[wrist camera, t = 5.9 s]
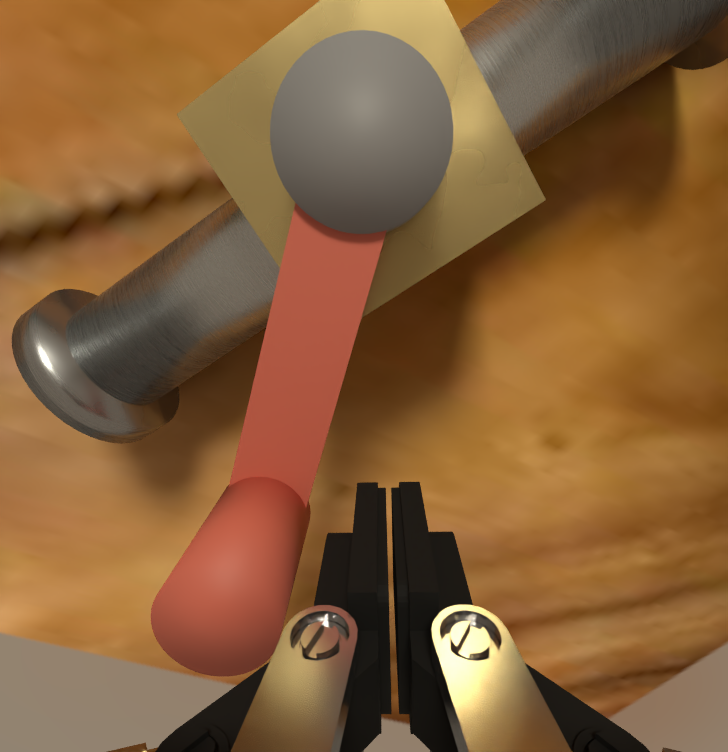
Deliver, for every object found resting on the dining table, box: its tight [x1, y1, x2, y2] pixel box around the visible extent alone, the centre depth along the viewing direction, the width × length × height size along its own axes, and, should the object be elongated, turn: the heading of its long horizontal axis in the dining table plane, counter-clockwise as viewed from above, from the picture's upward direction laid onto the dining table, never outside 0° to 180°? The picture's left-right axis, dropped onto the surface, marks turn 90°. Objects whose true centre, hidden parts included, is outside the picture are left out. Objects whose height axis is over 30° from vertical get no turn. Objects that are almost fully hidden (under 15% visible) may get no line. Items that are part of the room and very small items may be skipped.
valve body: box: [12, 0, 728, 443], centre depth 15 cm, size 26×7×8 cm, turn 123°
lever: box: [151, 30, 453, 676], centre depth 10 cm, size 13×4×5 cm, turn 164°
